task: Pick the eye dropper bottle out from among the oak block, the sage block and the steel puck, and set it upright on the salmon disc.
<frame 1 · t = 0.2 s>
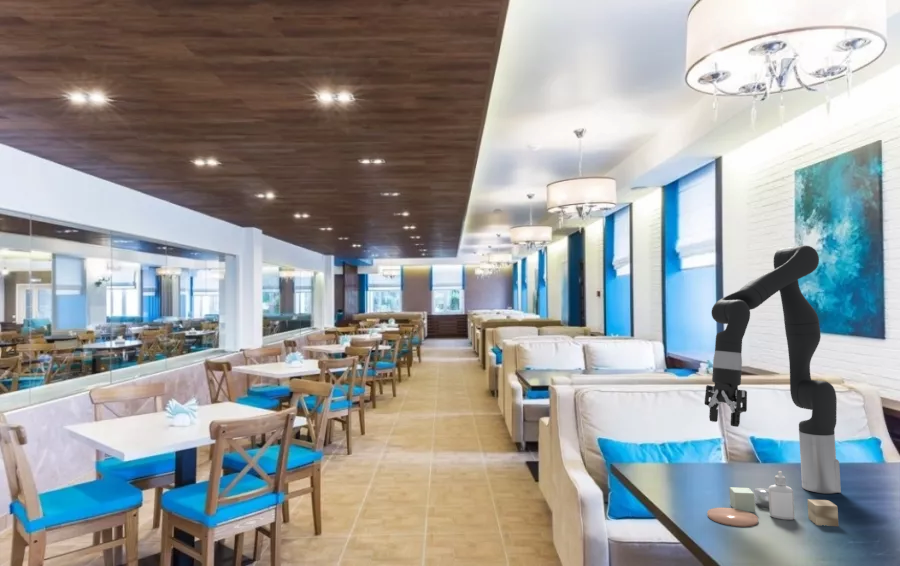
hand: (723, 423, 161), 22 cm above the table, tool pointing down, fingers open, 8 cm apart
oak block: (823, 522, 144), on the table
steel puck: (765, 505, 158), on the table
eye dropper bottle: (782, 518, 148), on the table
sage block: (742, 508, 156), on the table
salmon disc: (732, 518, 148), on the table
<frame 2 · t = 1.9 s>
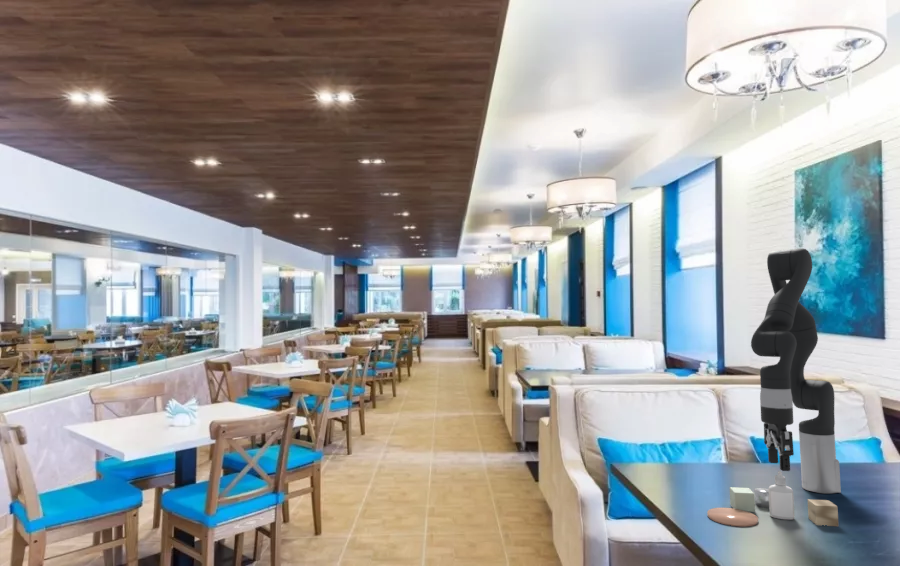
hand: (779, 466, 149), 13 cm above the table, tool pointing down, fingers open, 8 cm apart
nothing on the table moved.
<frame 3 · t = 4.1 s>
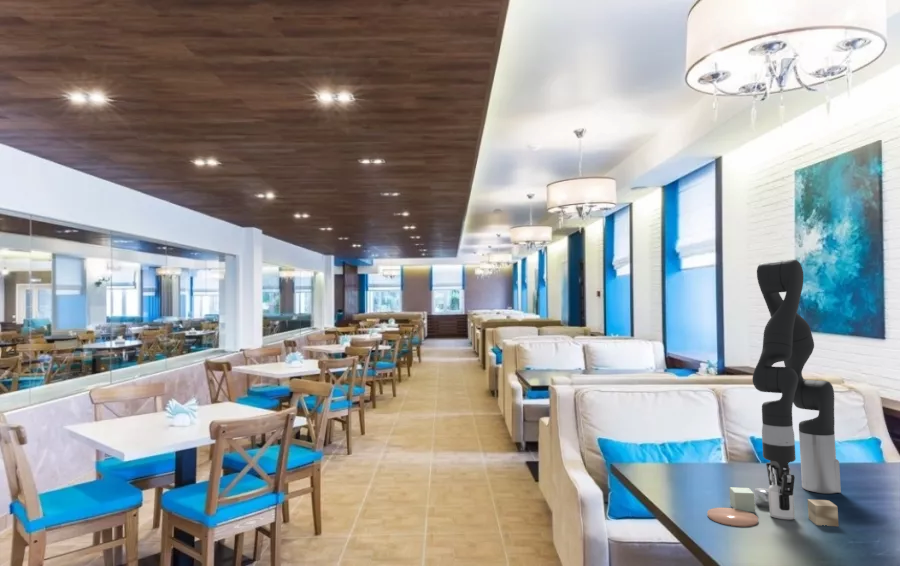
hand: (781, 506, 148), 3 cm above the table, tool pointing down, fingers closed on eye dropper bottle, 3 cm apart
eye dropper bottle: (782, 518, 148), on the table, touching gripper
everything else where it was.
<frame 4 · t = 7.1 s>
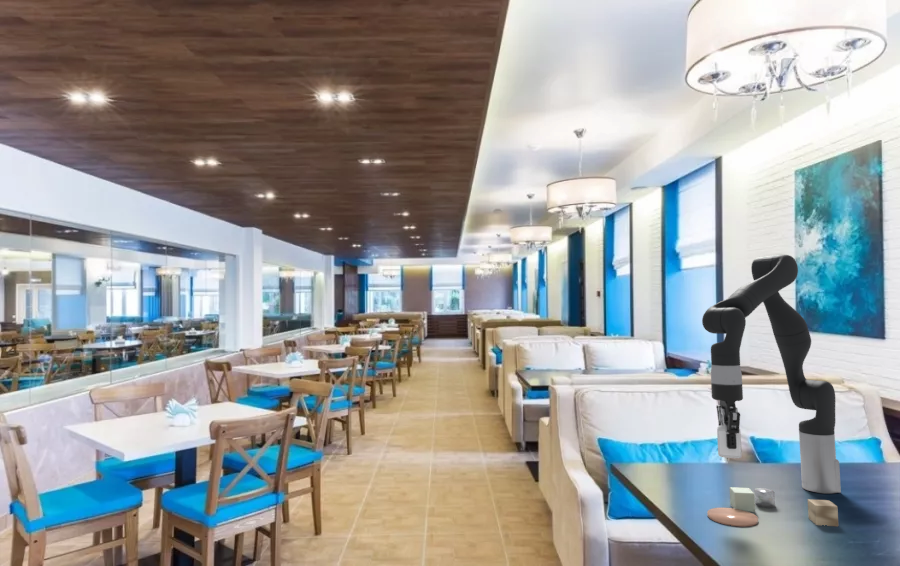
hand: (729, 446, 149), 19 cm above the table, tool pointing down, fingers closed on eye dropper bottle, 3 cm apart
eye dropper bottle: (729, 457, 149), point 16 cm above the table, touching gripper
everything else where it was.
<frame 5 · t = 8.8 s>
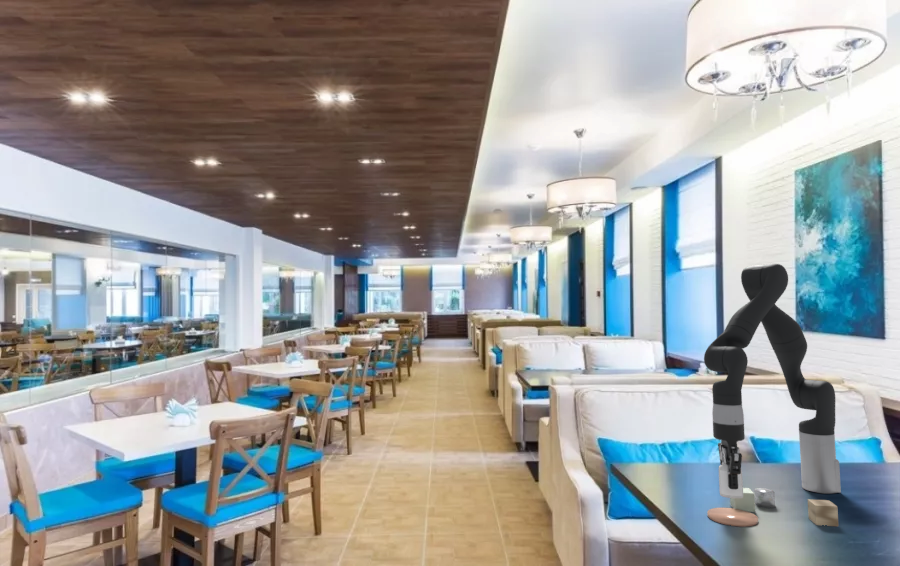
hand: (730, 486, 148), 8 cm above the table, tool pointing down, fingers closed on eye dropper bottle, 3 cm apart
eye dropper bottle: (731, 497, 148), point 5 cm above the table, touching gripper
everything else where it was.
when the fingers open (5 cm above the table, at t = 10.3 s): eye dropper bottle stays where it is, resting on salmon disc.
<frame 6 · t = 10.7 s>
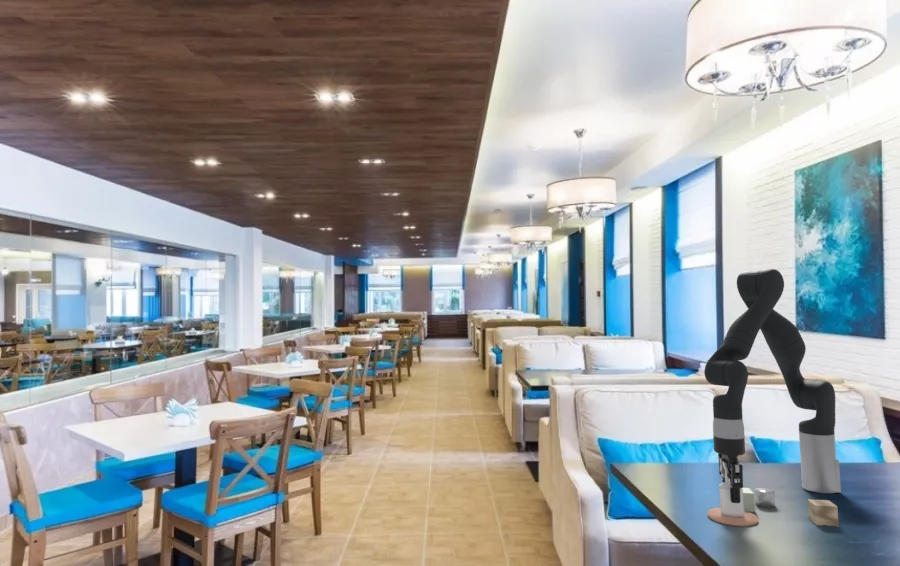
hand: (731, 498, 148), 5 cm above the table, tool pointing down, fingers open, 6 cm apart
eye dropper bottle: (732, 515, 148), point 1 cm above the table, touching salmon disc
everything else where it was.
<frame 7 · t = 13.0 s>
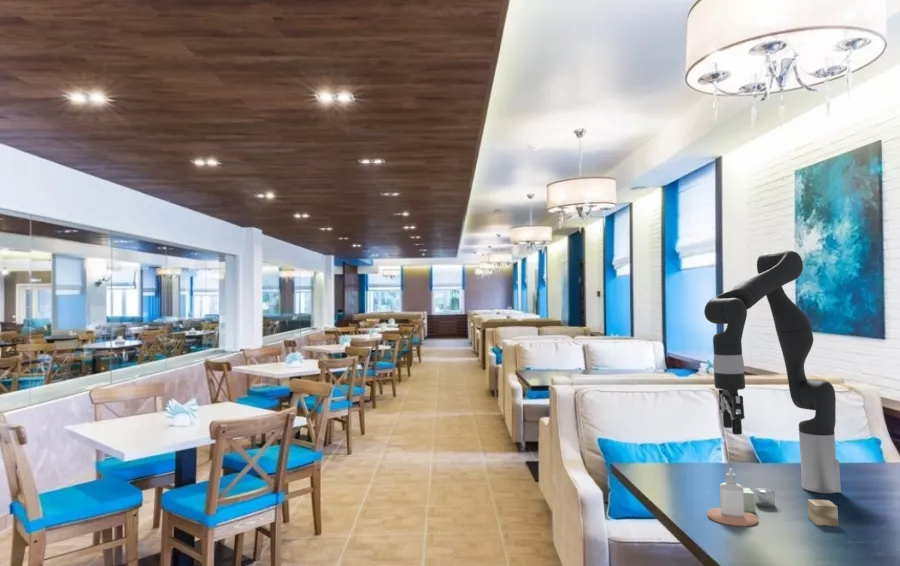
hand: (732, 430, 152), 22 cm above the table, tool pointing down, fingers open, 8 cm apart
nothing on the table moved.
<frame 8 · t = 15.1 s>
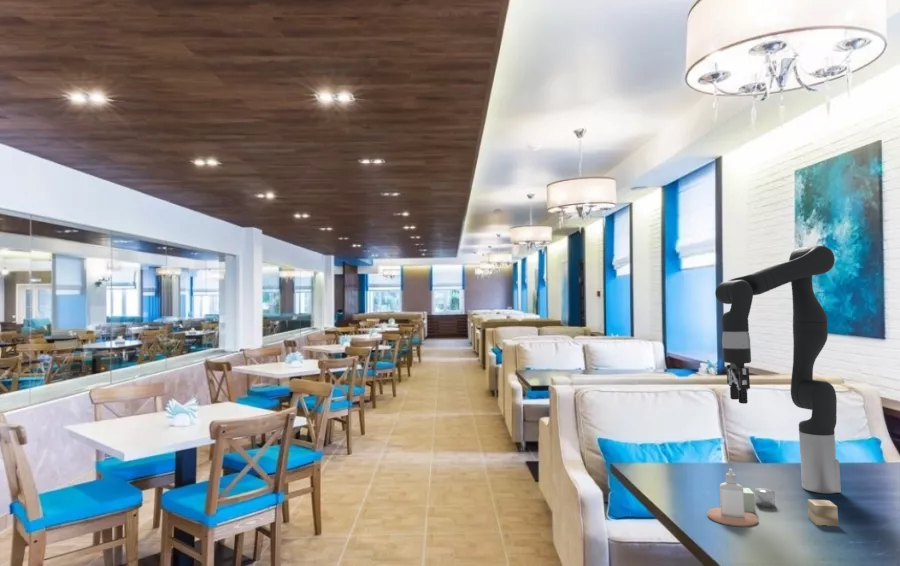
hand: (738, 401, 167), 28 cm above the table, tool pointing down, fingers open, 8 cm apart
nothing on the table moved.
at the end: eye dropper bottle inside the target area on the salmon disc (0.1 cm from its centre), point 0.6 cm above the salmon disc's base; eye dropper bottle tilted 0°; the gripper is holding nothing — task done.
